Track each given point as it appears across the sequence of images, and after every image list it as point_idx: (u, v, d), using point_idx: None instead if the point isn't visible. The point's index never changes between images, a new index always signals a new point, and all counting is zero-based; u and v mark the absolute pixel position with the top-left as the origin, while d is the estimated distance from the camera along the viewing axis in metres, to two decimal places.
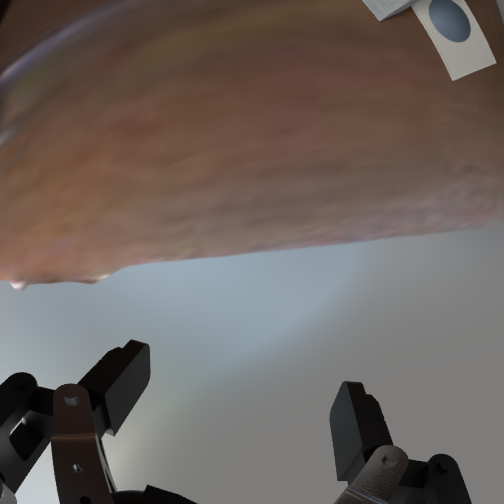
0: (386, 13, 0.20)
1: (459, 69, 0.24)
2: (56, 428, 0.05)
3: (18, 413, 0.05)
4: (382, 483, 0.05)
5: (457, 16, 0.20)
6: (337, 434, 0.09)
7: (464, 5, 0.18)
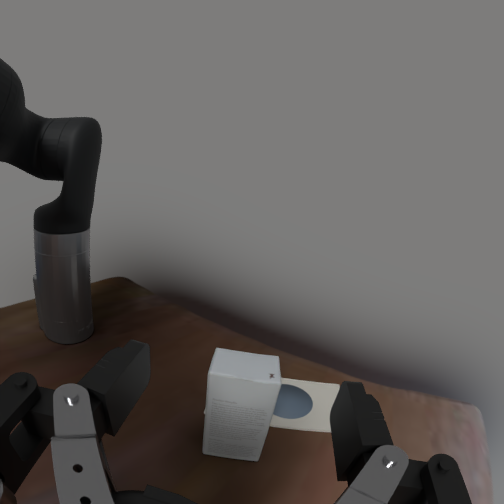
0: (261, 441, 0.23)
1: None
2: (55, 428, 0.05)
3: (18, 413, 0.05)
4: (381, 483, 0.05)
5: (286, 392, 0.36)
6: (337, 434, 0.09)
7: None
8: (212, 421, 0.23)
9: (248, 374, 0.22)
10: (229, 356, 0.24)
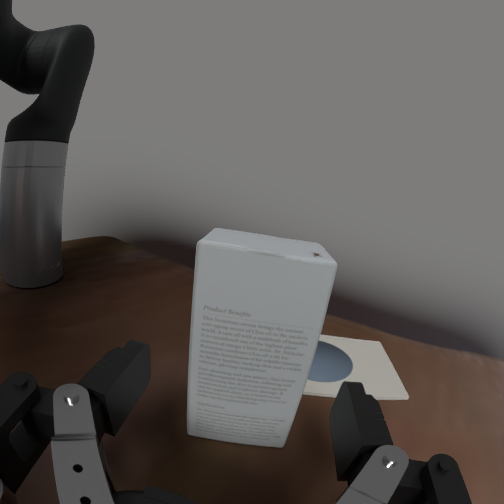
0: (292, 406, 0.14)
1: (392, 384, 0.21)
2: (55, 428, 0.05)
3: (18, 413, 0.05)
4: (381, 484, 0.05)
5: None
6: (337, 434, 0.09)
7: None
8: (202, 362, 0.13)
9: (273, 248, 0.12)
10: (236, 233, 0.14)
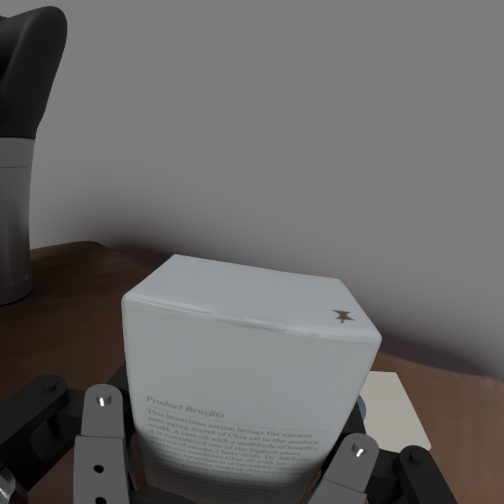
0: (290, 503, 0.08)
1: (412, 431, 0.15)
2: (82, 427, 0.06)
3: (42, 415, 0.05)
4: (355, 472, 0.05)
5: None
6: None
7: None
8: (158, 459, 0.07)
9: (264, 308, 0.06)
10: (204, 269, 0.08)
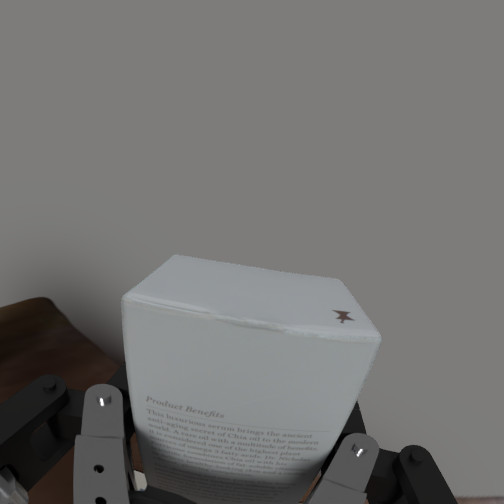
0: None
1: None
2: (83, 427, 0.06)
3: (42, 415, 0.05)
4: (355, 472, 0.05)
5: None
6: None
7: None
8: (158, 459, 0.07)
9: (264, 308, 0.06)
10: (203, 269, 0.08)
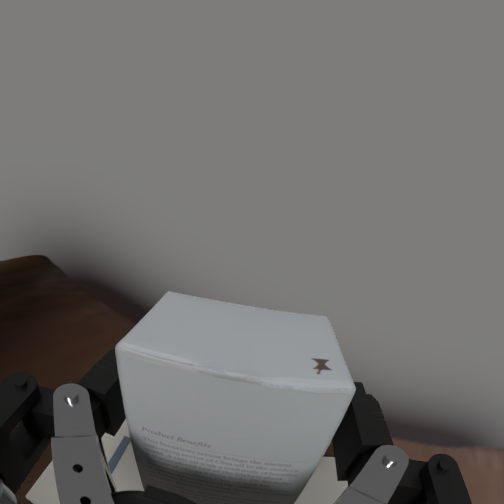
0: None
1: None
2: (55, 428, 0.05)
3: (18, 413, 0.05)
4: (382, 484, 0.05)
5: None
6: (337, 434, 0.09)
7: None
8: (154, 476, 0.07)
9: (244, 359, 0.07)
10: (194, 310, 0.09)
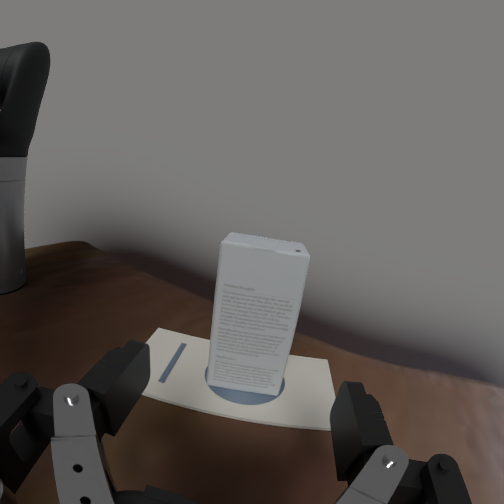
0: (283, 359, 0.20)
1: (325, 411, 0.20)
2: (55, 428, 0.05)
3: (18, 413, 0.05)
4: (382, 484, 0.05)
5: None
6: (337, 434, 0.09)
7: None
8: (221, 323, 0.20)
9: (269, 246, 0.19)
10: (245, 236, 0.21)
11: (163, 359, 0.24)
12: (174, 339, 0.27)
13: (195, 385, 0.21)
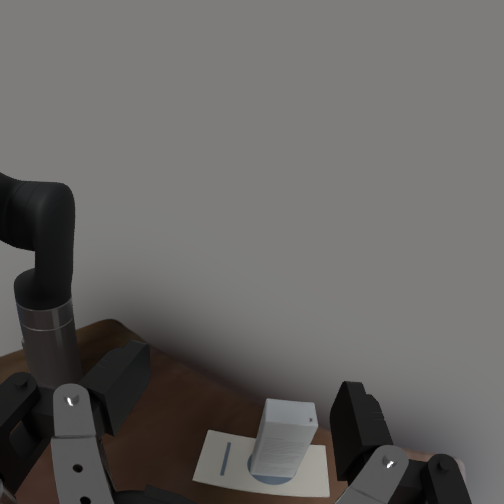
0: (297, 464, 0.28)
1: (321, 485, 0.28)
2: (56, 428, 0.05)
3: (18, 413, 0.05)
4: (381, 483, 0.05)
5: None
6: (337, 434, 0.09)
7: None
8: (262, 451, 0.28)
9: (293, 419, 0.27)
10: (277, 406, 0.29)
11: (218, 457, 0.32)
12: (222, 439, 0.36)
13: (243, 475, 0.29)
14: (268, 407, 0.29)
